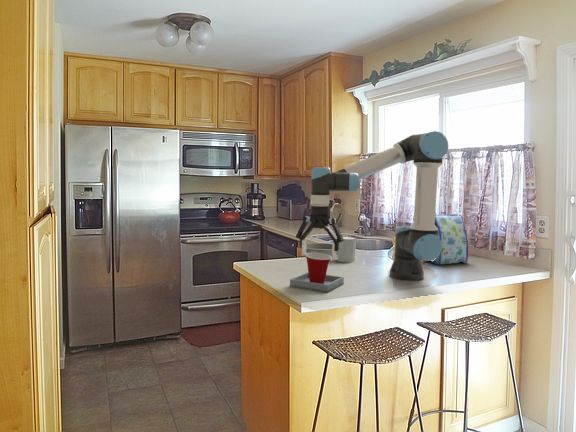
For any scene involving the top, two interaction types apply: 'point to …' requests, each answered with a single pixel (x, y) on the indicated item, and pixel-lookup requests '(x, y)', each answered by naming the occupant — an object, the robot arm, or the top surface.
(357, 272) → the top surface
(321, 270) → the plastic cup
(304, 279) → the tray
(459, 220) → the lunch bag
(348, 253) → the white cylinder
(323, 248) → the cake pan
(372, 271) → the top surface
